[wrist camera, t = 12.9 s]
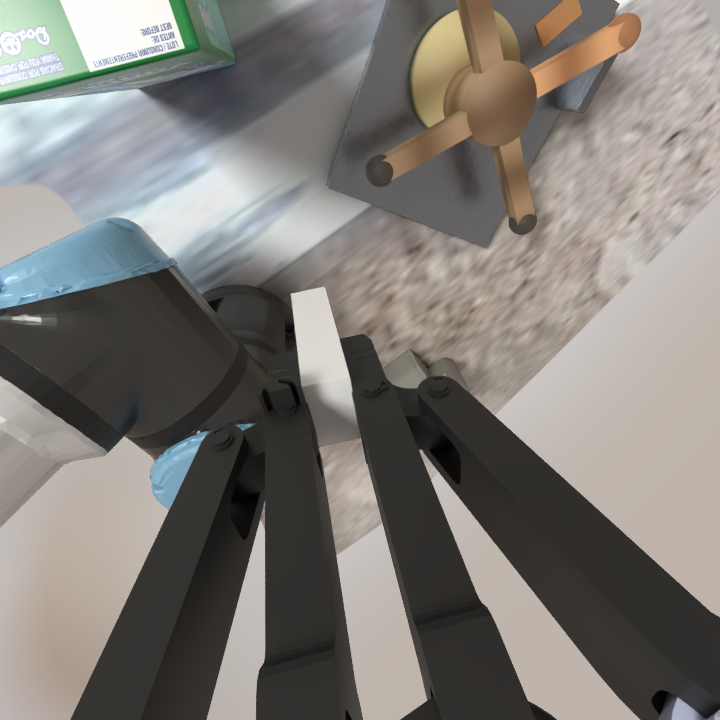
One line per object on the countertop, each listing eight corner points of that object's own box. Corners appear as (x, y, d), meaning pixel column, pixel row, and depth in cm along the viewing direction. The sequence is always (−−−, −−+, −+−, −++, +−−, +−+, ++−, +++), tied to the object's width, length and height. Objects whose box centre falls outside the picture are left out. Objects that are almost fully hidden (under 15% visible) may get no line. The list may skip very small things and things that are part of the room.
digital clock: (364, 422, 64) (379, 477, 55) (337, 385, 59) (349, 438, 50) (458, 375, 62) (489, 424, 53) (439, 332, 57) (470, 378, 48)
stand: (485, 245, 50) (506, 261, 46) (326, 184, 43) (333, 197, 39) (614, 10, 39) (659, 2, 35) (428, -128, 32) (455, -160, 27)
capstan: (600, 160, 45) (651, 173, 39) (400, 267, 48) (420, 295, 42) (571, -158, 31) (645, -214, 25) (289, 21, 34) (294, 9, 28)
